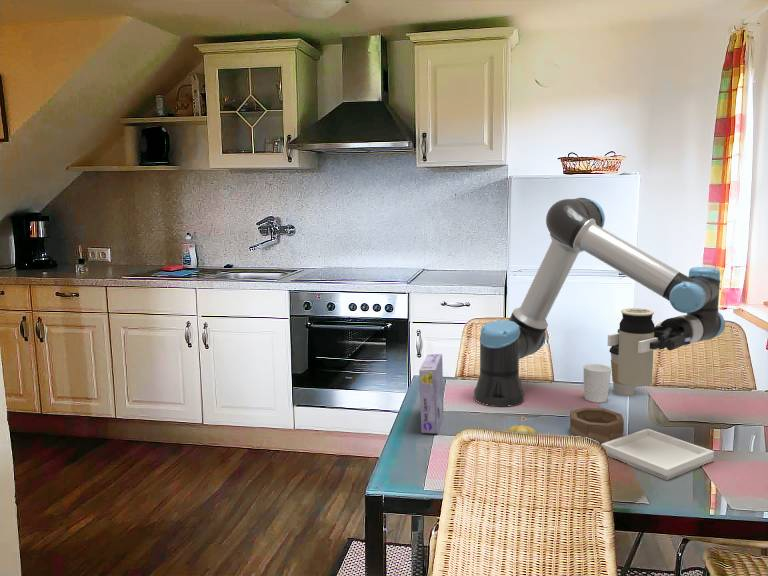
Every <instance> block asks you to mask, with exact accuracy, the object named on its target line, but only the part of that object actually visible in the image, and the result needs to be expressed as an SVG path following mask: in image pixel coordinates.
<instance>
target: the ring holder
mask: <svg viewBox="0 0 768 576" xmlns="http://www.w3.org/2000/svg"><path fill="white" fill-rule="evenodd" d="M624 427H625V420H624V418H623V415H622V414H621V413H619V412H616V411H612V410H610V409H607V408H603V407H602V408H599V407H580V408H577V409H574V410H571V411H569V434H570V436H571V435H573V436H581V437H588V438H591V439H593V440H596V441H598V442H599V443H605V442H608V441H611V440H614V439H617V438H620V437H623V436H624V432H625V431H624V429H625V428H624Z"/></svg>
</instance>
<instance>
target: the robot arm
mask: <svg viewBox="0 0 768 576" xmlns="http://www.w3.org/2000/svg"><path fill="white" fill-rule="evenodd" d="M605 222H606V216H605V212H604V210H603V207H602V206H601V205H600V203H598V202H597V201H595V200H594V199H591V198H588V197H587V198H586V197H577V198H576V197H575V198H565V199H561V200H558V201H556V202H555V203H554V204H552V205H551V207H550V208H549V209H548V212H547V213H546V217H545V224H546V228H547V229H548V232H549V237H550V239H551V242H550V244H549V247H548V249H547V251H546V253H545V254H544V257H543V259H542V261H541V263H540V265H539V267H538V269H537V272H536V274H535V276H534V277H533V280H532V282H531V285H530V287H529V288H528V290H527V293H526V295H525V297H524V298H523V301H522V303H521V306H520V307H517V308H514V309H513V311H512V313H511V314H510V317H509V319H508V320H506V319H505V320H504V319H502V320H501V319H500V320H496V321H494V320H493V321H489V322H486V323H485V324H484V325H482V327H481V329H480V334H479V335H480V336H479V343H480V344H479V376H478V379H477V382H476V387H475V388H474V390H473V399H474V398H475V399H476V400H477V401H479V402H481V403H480V404H482V403H484V404H483V405H485V404H488V405H487V406H490V405H495V406H494V407H500V406H505V407H509V406H508V405H514V406H517V405H516V404H518V405H520V404H519V403H521V402H522V403H523V402H524V401H525V391H524V389H523V385H522V382H521V378H520V375H519V374H520V373H519V372H520V371H519V370H520V360H521V359H523V358H525V357H528V356H530V355H533V354H535V353H537V352H538V351H539V350H540V349H541V348H542V347H543V346H544V344H545V341H546V338H547V332H546V331H547V329H548V327H549V324H548V321H547V317H548V316H549V313H550V311H551V310H552V308H553V305H554V303H555V302H556V300H557V297H558V295H559V294H560V292H561V289H562V288H563V285H564V283H565V282H566V281H567V280H566V279H567V277H568V275H569V273H570V271H571V270H572V267H573V266H574V264H575V261H576V259H577V258H578V255H579V254H580V253H582V252H586V253H587V254H589V255H590V256H592V257H594V258H596V259H597V260H599V261H601V262H603V263H604V264H605V265H608V266H609V267H611V268H613V269H614V270H616V271H617V272H620V273H621V274H623V275H625V276H627V278H629V279H632V280H633V281H635V282H636V283H638V284H640V285H642V286H643V287H645V288H647V289H648V290H650V291H652V293H656V294H657V295H658V296H661V297H662V298H664V299H665V300H667V301H668V302H669V303H670V305H671V306H672V308H673V309H674V310H675V311H677V312H679V313H682V315H677V316H674V317H670V318H666V319H664V320H663V321H662V322H661V323H660V325H656V326H655V327H654V338H651V339H647V340H643V341H638V353H644V352H648V351H652V350H654V351H655V350H658V349H660V350H664V349H666V350H668V351H673V350H674V351H675V349H678V348H680V347H683V346H685V347H686V346H689V345H691V344H695V343H698V342H702V341H708V340H712V339H713V338H717V337H719V336H720V335H721V334H722V333H723V332H724V330H725V328H726V321H725V318H724V316H723V315H722V314H721V313H720V312H719V299H720V287H721V272H720V269H718V268H716V267H710V266H694V267H691V268H689V270H688V275H686V274H684V273H682V272H681V271H678V270H677V269H675V268H674V267H672V266H670V265H668V264H666V263H665V262H663V261H661V260H659V259H658V258H655V257H654V256H652V255H650V254H648V253H647V252H645V251H643V250H641V249H639V248H638V247H636V246H635V245H632V244H631V243H629V242H628V241H626V240H624V239H622V238H620V237H618V236H617V235H616V234H613V232H612V233H611V232H610V231H608V230H606V229H604V226H605ZM618 344H619V328H618V329H617V333H612V334H608V335H607V347H611V346H614V345H618ZM475 399H474V400H475ZM476 400H475V401H476ZM477 401H476V402H477ZM479 402H478V403H479ZM522 403H521V404H522Z"/></svg>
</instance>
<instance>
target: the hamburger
mask: <svg viewBox="0 0 768 576" xmlns="http://www.w3.org/2000/svg"><path fill="white" fill-rule="evenodd" d="M520 419H521V420H520V421H521V424H520V425H519V424H517V425H514V426H511V427H509V428H507V429H506V431H509V432H517V433H527V434H538V432H537V431H536V430H535V429H534V428H532V427H530V426H527V425H522V423H523V422H524V421H527V420H528V418H526V417H525V416H522V415H521V417H520Z"/></svg>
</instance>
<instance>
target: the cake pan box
mask: <svg viewBox="0 0 768 576" xmlns="http://www.w3.org/2000/svg"><path fill="white" fill-rule="evenodd" d="M443 371H444V370H443V354H442V353H433V354H427V355H426V357H425V359H424V361H423V362H422V364H421V366H420V369H419V371H418V373H419V374H418V376H419V378H418V379H419V380H418V381H419V403H420V426H421V429H420V430H421V433H422V434H431V435H438V432H439V429H440V427H441V424H442V420H443V415H444V411H445V410H444V380H443V377H444V376H443V375H444V374H443Z"/></svg>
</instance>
